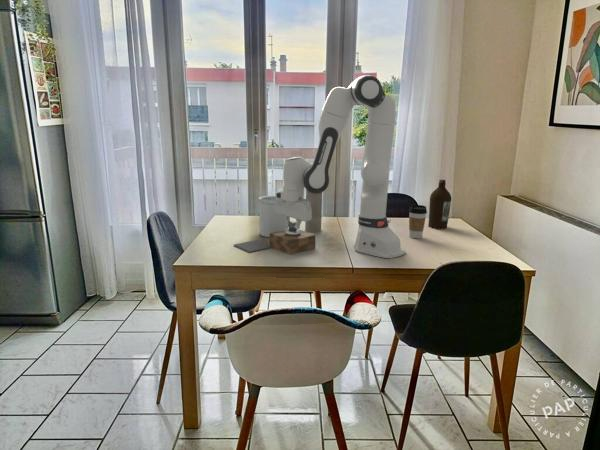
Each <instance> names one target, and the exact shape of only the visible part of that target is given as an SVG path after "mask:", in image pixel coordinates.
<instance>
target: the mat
mask: <svg viewBox="0 0 600 450" xmlns="http://www.w3.org/2000/svg"><path fill="white" fill-rule="evenodd" d="M233 247H235V248H238V249H240V250H242V251H244V252H247V253H250V254H251V253H255V252H259V251H263V250H264V251H265V250H268V249H272V248H273V246H271V245H270V244H268V243H265V242H263V241H260V240H258V239H253V240H250V241H245V242H240V243H239V242H238V243H236V244H233ZM273 249H274V248H273Z"/></svg>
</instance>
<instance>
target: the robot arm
mask: <svg viewBox="0 0 600 450" xmlns="http://www.w3.org/2000/svg"><path fill="white" fill-rule="evenodd" d="M395 102H396V101H395V100H394V99H393V98H392V97H391V96H389V95H386V94H385V91H384V88H383V85H382V83H381V81H380V80H379V79H378V78H377V77H375V76H373V75H369V74H368V75H367V74H366V75H362V76H359V77H357V78H356V79H354V80H353V81H352V82H351V83H349V84H348V85H347V87H344V86H342V87H341V86H336V87H334V88H332V89H331V90H330V92H329V94H328V95H327V97H326V100H325V102H324V105H323V106H322V109H321V113H320V117H319V120H318V121H319V122H318V133H319V140H318V141H319V143H318V147H317V151H316V154H315V157H314V159H313V162H310V161H308V160H307V159H305V158H304V157H303V156H293V157H288V158H287V159H286V160H285V162H283V163H284V164H283V175H282V177H283V178H282V179H283V188H282V191H277V192H276V193H275V195H274V196H276V201H275V210H276V213H277V214H281V215H284V216H285V220H286V226H289V222H291V219H295V222H297V223H296V224H295V225H294V228H295V229H299V230H300V227H301V224H302V223H303V222H306V221H310V220H311V219H312V210H311V204H310V202H309V200H308V199H306V197H305V190H306V189H307V190H308V191H309V192H311V193H314V194H318V193H321V192H322V193H324V191H326V190H327V188H328V187H329V184H330V177H329V168H330V165H331V162H332V157H333V155H334V152H335V149H336V146H337V143H338V142H339V140H340V138H341V136H342V134H343V132H344V130H345V128H346V126H347V124H348V120H349V118H350V114H351V112H352V110H353V108H354V107H355V106H365V107H366V108H367V112H368V113H367V115H368V116H367V123H366V124H367V125H366V133H365V142H364V149H363V154H362V155H363V156H362V162H361V167H360V168H361V169H360V176H361V180H362V183H361V185H362V186H361V193H360V201H359V203H360V205H359V215H358V221H357V222H358V231H357V236H356V239H355V242H354V245H353V247H354V251H355V252H358V253H361V254H366V255H370V256H373V257H374V256H375V257H378V258H382V259H395V258H398V257H402V256H403V255H406V249H403V248H401V240H400V238H399V237H398V235H397V234H396V232H394V231H393V230H392V228H391V227H389V224H391V219H389V220H388V219H387V214H386V213H387V205H388V204H387V201H388V191H389V182H390V181H389V179H390V164H391V156H392V149H393V142H394V141H393V140H394V133H395V125H396V103H395Z"/></svg>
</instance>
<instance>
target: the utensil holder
mask: <svg viewBox="0 0 600 450" xmlns="http://www.w3.org/2000/svg"><path fill="white" fill-rule="evenodd" d="M275 201H276V196H275V195H262V196H260V197H258V203H259V204H258V206H259V209H258V210H259V219H258V221H259V222H258V223H259V227H258V228H259V235H260V236H261V237H264V238H270V233H273V232H278V231H283V230H287V229H289V226H286V220H285V216H284V215H281V214H277V213H276V210H275Z"/></svg>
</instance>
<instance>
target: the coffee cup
mask: <svg viewBox="0 0 600 450" xmlns="http://www.w3.org/2000/svg"><path fill="white" fill-rule="evenodd" d="M408 212H409V215H408V227H409V228H408V232H409V233H408V236H409V238H410V237H411V239H414V238H420V239H423V232H424V228H425V223H426V215H427V213H428V210H427V206H426V205H421V204H414V205H411V206H409V209H408Z"/></svg>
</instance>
